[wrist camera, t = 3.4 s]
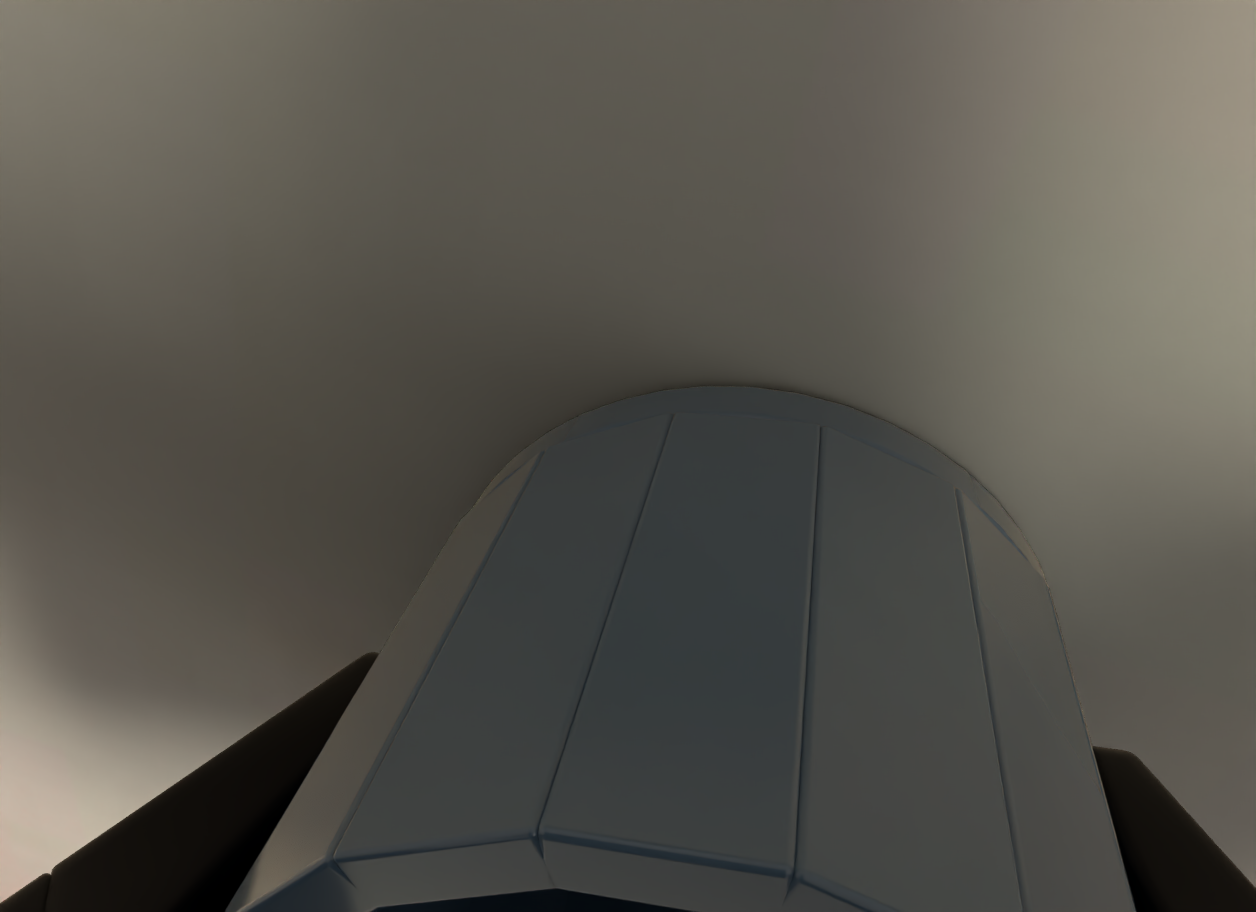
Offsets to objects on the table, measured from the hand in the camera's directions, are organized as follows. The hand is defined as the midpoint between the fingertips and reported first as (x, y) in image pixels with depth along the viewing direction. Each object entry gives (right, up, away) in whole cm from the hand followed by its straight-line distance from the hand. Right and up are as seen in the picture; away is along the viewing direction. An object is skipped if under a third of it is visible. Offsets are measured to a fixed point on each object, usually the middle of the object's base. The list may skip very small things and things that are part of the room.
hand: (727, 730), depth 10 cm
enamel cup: (0, +1, +1) cm, 1 cm away
